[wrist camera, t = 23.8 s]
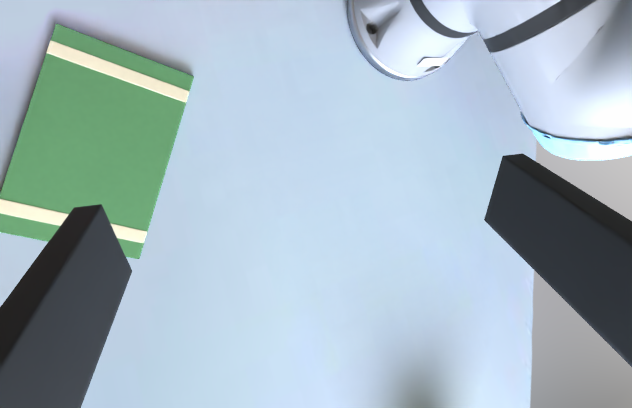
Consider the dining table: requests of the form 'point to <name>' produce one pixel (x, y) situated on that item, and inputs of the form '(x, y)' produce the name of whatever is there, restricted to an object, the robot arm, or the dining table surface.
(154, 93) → the cloth
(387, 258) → the dining table surface
